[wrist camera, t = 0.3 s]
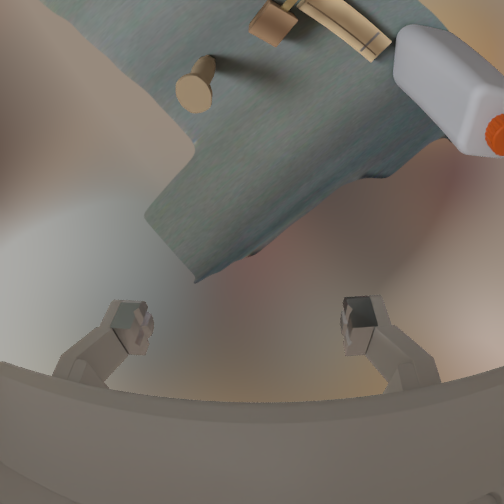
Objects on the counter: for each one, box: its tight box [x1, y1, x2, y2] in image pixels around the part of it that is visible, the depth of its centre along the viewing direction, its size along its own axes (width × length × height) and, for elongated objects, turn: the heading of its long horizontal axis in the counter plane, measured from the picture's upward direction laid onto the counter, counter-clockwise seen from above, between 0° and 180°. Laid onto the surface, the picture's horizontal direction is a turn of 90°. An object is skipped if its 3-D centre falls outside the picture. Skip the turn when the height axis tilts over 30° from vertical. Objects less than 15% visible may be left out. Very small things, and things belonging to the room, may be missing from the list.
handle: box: [176, 55, 216, 113], centre depth 43 cm, size 5×6×15 cm
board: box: [297, 0, 392, 62], centre depth 38 cm, size 6×16×4 cm, turn 58°
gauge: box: [249, 0, 298, 47], centre depth 36 cm, size 11×5×7 cm, turn 148°
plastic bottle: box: [393, 24, 504, 158], centre depth 34 cm, size 15×15×28 cm
